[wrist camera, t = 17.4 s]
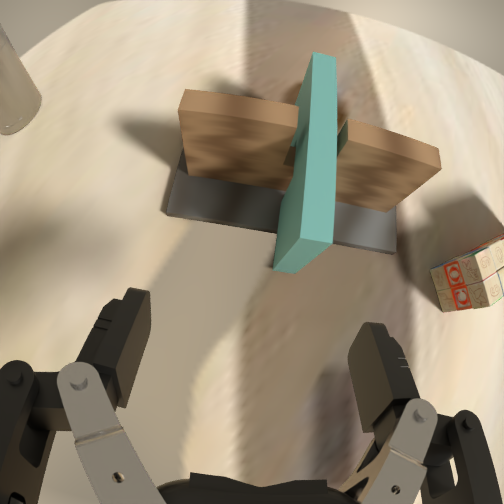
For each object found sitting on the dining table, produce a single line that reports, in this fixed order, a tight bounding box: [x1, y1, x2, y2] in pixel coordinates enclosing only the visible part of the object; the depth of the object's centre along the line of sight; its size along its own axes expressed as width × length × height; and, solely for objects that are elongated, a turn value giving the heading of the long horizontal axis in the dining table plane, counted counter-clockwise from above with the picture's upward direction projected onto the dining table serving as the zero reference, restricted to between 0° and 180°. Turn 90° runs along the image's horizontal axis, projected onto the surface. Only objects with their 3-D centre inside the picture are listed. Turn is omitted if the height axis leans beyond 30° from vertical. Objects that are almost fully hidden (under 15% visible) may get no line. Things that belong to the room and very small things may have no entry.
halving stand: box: [166, 89, 442, 255], centre depth 31 cm, size 27×12×13 cm, turn 82°
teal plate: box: [273, 52, 337, 274], centre depth 30 cm, size 20×2×12 cm, turn 172°
